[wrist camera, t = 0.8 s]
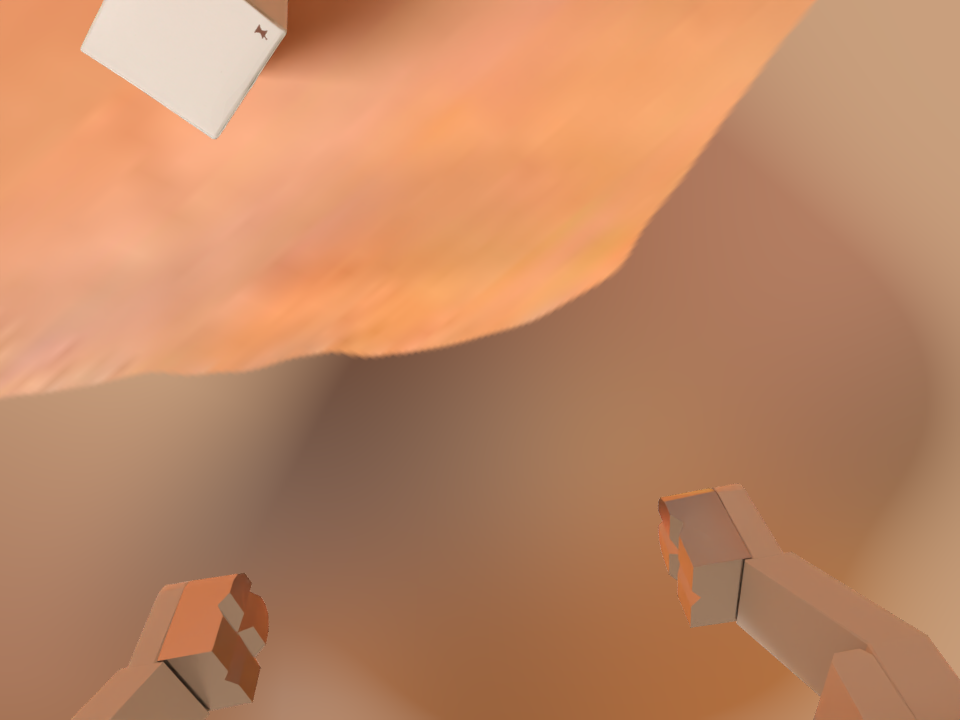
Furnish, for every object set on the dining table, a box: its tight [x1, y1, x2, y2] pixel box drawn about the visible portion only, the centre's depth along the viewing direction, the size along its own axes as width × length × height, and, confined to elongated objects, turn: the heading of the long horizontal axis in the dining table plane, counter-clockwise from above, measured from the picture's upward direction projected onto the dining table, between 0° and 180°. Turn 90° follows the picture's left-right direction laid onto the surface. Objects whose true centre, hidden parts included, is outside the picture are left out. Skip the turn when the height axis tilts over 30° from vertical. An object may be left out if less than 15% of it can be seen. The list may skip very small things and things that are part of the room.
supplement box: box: [81, 0, 288, 139], centre depth 35 cm, size 7×7×13 cm
